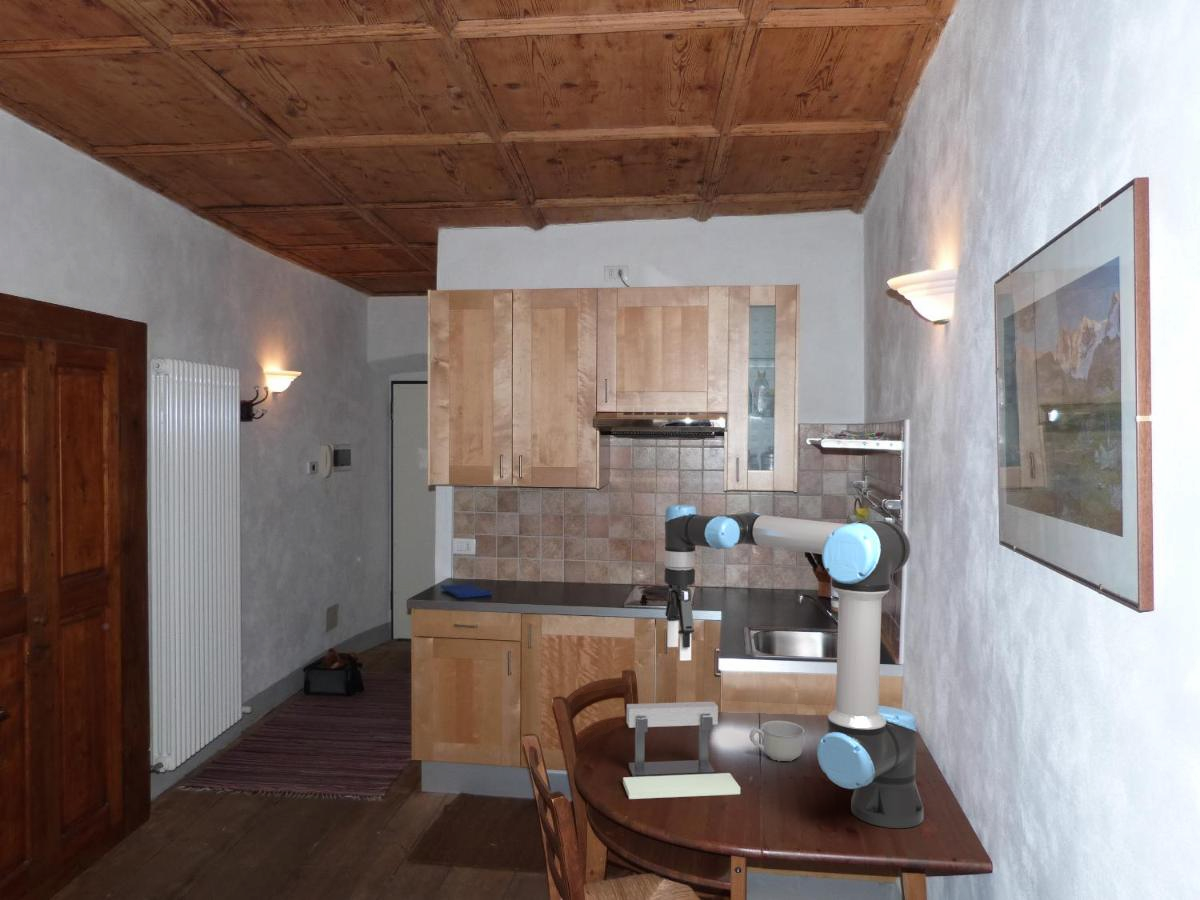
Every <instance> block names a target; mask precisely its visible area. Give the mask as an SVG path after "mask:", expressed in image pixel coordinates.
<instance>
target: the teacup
mask: <svg viewBox="0 0 1200 900" xmlns="http://www.w3.org/2000/svg"><path fill="white" fill-rule="evenodd" d="M761 728H762V729H760V728H753V729H752V730H751V731H750V732H749V739H750V742H751V743H752V744H753V745H754V746H755V747H757V748H759V750H760V751H761V752H764V753H765V754H766V755H767V756H768V757H769V758H770V759H771V760H774V761H776V760H777V761H776V762H780V761H790V762H793V761H794V759H795V760H796V759H797V758H799V757H800V756H801V755H802V753H803V749H804V734H805V729H804V728H803V726H801V725H799V724H797V723H794V722H792V721H786V720H770V721H766V722H764V723H763V724H762V725H761ZM756 734H760V738H761V743H759V742H757V741H756V740H755V738H754V736H755V735H756ZM792 760H793V761H792Z"/></svg>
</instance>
